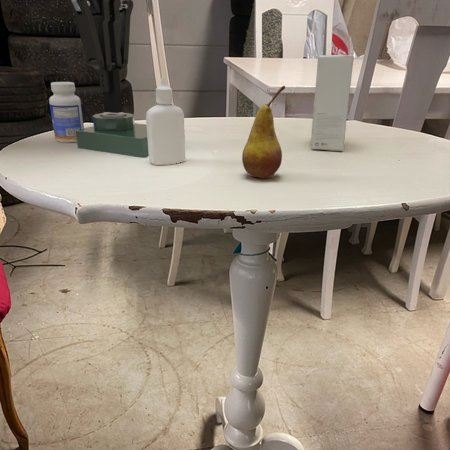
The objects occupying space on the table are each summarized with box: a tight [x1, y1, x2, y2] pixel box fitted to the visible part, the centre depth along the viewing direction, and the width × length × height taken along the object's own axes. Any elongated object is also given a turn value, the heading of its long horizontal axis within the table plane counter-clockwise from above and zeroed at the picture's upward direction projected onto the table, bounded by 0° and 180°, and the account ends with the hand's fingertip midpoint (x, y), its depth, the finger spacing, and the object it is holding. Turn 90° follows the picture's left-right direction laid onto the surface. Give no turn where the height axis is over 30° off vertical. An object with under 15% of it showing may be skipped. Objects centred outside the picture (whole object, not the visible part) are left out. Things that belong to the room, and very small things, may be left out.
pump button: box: [101, 111, 126, 118], centre depth 82 cm, size 4×4×2 cm
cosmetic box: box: [310, 54, 355, 152], centre depth 82 cm, size 8×6×15 cm
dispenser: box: [76, 112, 149, 158], centre depth 81 cm, size 14×11×5 cm
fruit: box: [241, 85, 286, 179], centre depth 64 cm, size 6×6×12 cm
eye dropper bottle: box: [145, 77, 186, 166], centre depth 70 cm, size 4×6×12 cm
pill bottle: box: [48, 81, 85, 144], centre depth 85 cm, size 5×5×10 cm
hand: (113, 111), depth 81 cm, fingers closed
